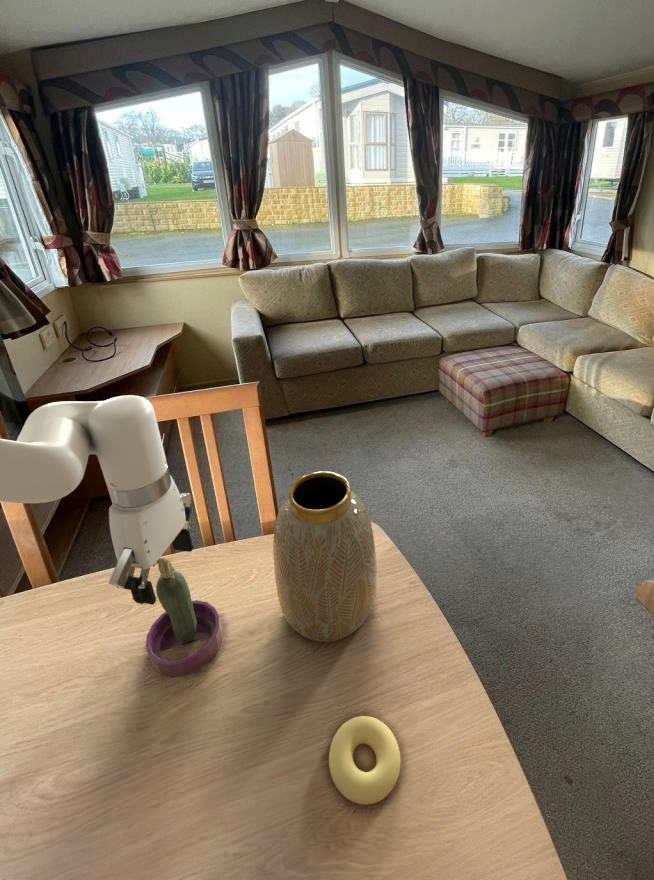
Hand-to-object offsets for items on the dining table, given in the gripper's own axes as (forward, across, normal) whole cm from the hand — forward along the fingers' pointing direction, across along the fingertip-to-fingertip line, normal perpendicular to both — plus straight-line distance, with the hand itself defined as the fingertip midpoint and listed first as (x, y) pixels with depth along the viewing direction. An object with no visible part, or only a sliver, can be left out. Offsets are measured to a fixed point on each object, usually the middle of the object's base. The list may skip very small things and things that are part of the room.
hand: (165, 573), depth 73 cm
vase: (+18, -12, +21) cm, 30 cm away
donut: (+18, +10, +33) cm, 39 cm away
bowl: (+18, 0, 0) cm, 18 cm away
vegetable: (+17, 0, 0) cm, 17 cm away
